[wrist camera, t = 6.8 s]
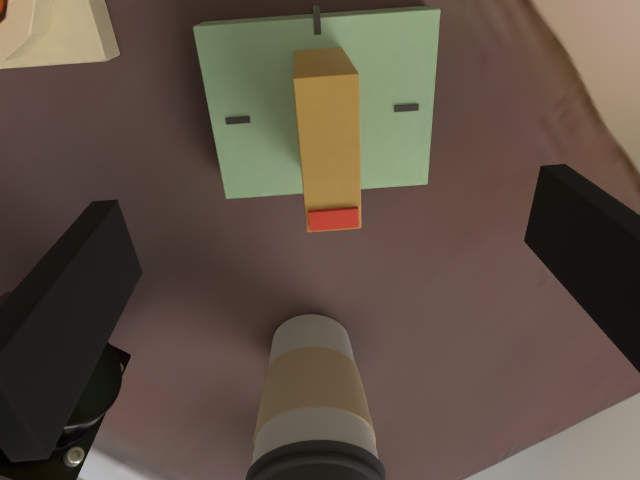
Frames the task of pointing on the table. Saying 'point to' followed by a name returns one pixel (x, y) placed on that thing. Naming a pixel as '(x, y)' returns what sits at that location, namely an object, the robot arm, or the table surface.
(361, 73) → the plate
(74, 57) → the beige button mount
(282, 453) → the coffee cup
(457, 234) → the table surface
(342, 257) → the table surface
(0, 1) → the bell button
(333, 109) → the yellow rectangular block
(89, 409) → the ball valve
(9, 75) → the table surface
